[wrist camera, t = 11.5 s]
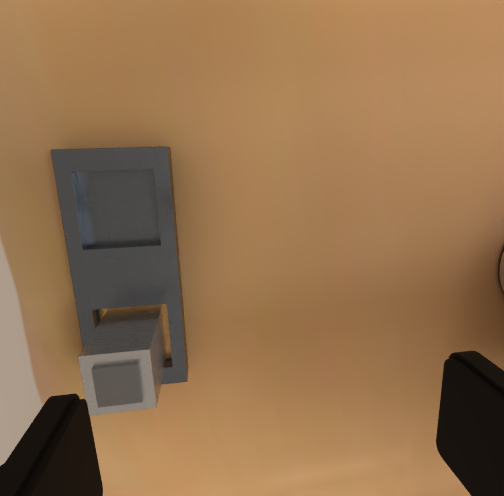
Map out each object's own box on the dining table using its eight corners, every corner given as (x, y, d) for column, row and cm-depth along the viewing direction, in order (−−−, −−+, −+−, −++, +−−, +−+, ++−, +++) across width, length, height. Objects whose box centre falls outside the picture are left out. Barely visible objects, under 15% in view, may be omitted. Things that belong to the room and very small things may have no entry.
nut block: (161, 305, 34) (148, 352, 25) (166, 352, 35) (156, 411, 27) (107, 310, 33) (76, 359, 25) (114, 357, 34) (87, 419, 26)
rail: (170, 147, 31) (167, 146, 29) (188, 367, 37) (187, 381, 34) (62, 150, 30) (50, 149, 28) (97, 376, 36) (90, 391, 33)
